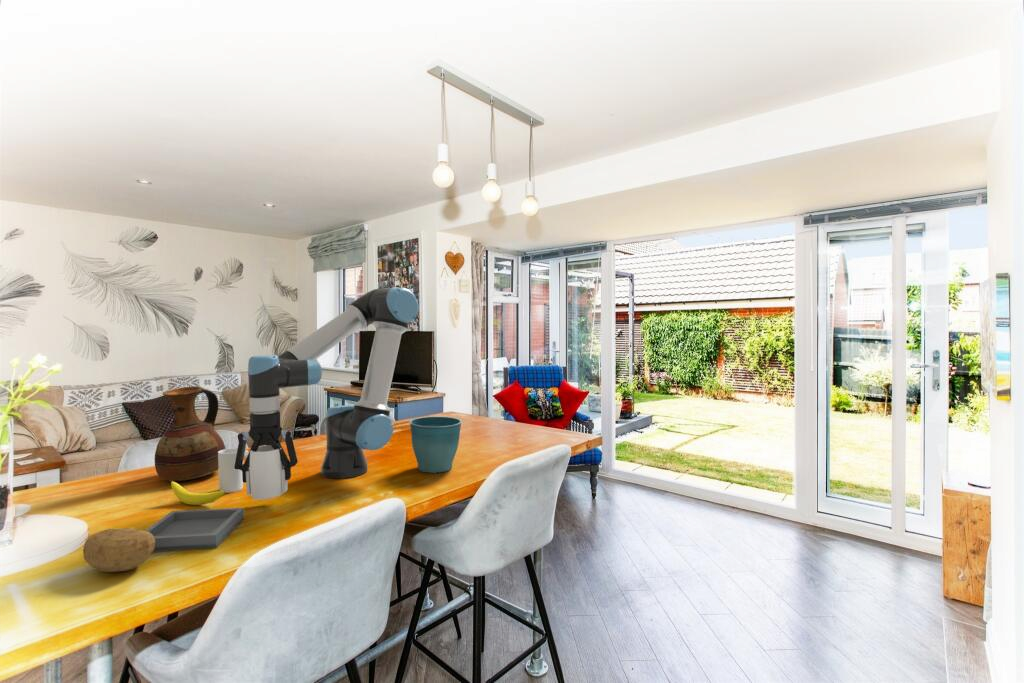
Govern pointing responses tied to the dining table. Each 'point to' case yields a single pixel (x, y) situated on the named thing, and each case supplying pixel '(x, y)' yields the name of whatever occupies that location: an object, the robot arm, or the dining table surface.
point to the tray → (195, 528)
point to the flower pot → (435, 442)
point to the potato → (118, 549)
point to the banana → (194, 495)
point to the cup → (265, 473)
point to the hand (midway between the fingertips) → (267, 492)
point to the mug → (229, 471)
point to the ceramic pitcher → (189, 438)
